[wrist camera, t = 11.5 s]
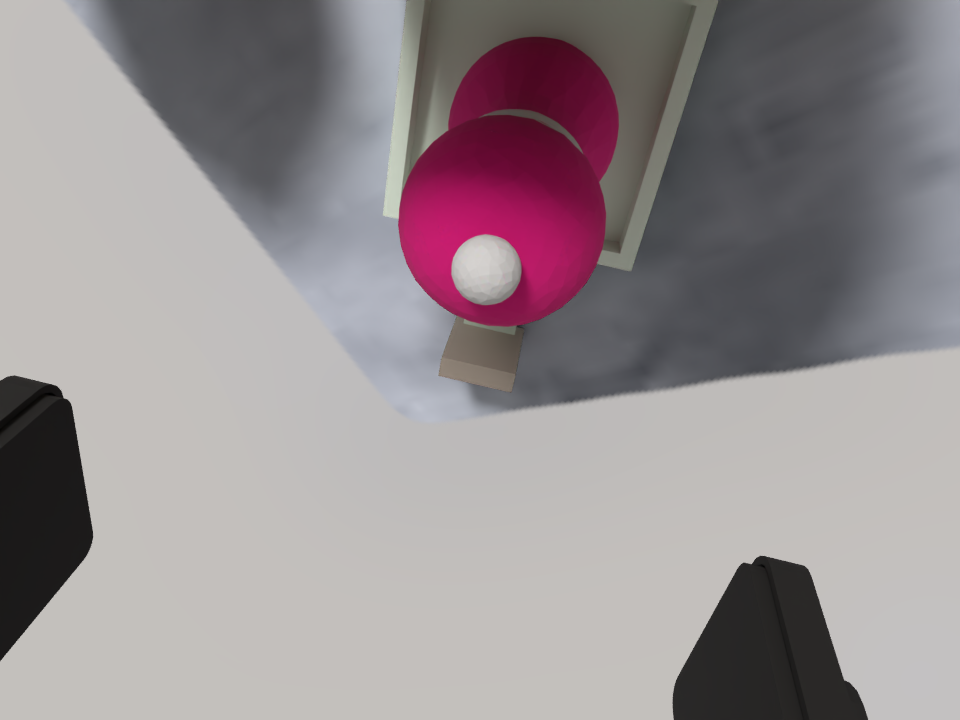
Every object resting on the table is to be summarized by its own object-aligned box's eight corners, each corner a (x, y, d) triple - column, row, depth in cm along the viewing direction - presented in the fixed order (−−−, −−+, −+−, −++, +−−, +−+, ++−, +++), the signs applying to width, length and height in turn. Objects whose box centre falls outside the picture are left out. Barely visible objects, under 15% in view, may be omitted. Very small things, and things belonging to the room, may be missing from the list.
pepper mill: (437, 122, 35) (286, 303, 18) (525, -11, 32) (440, 60, 15) (552, 209, 37) (511, 452, 20) (649, 91, 33) (701, 263, 16)
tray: (714, -16, 31) (732, -7, 27) (594, 363, 42) (593, 411, 38) (427, -77, 32) (400, -78, 27) (381, 313, 42) (357, 356, 38)
